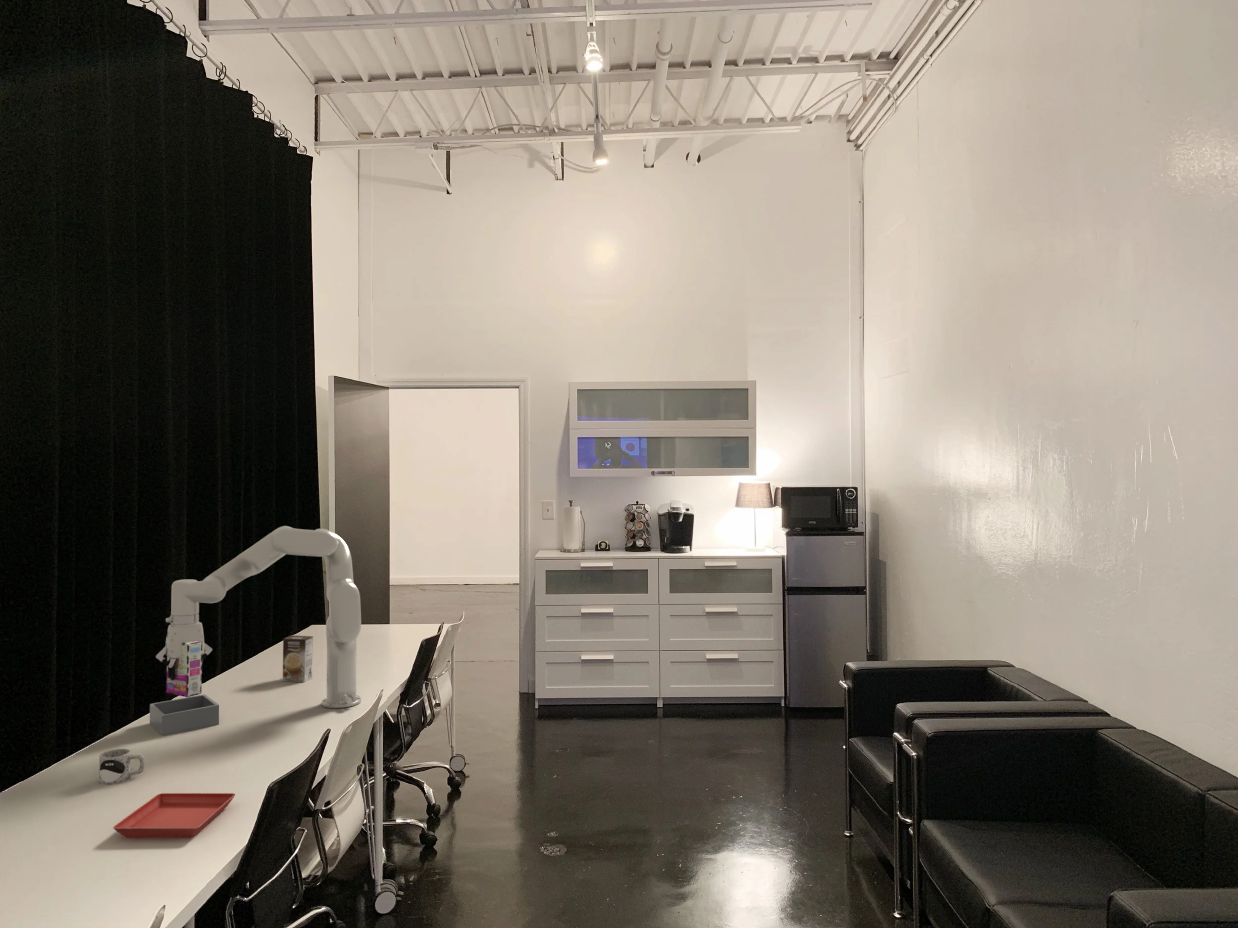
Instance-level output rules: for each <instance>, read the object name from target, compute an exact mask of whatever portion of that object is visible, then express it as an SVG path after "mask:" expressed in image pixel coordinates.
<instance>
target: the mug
mask: <svg viewBox="0 0 1238 928" xmlns="http://www.w3.org/2000/svg"><path fill="white" fill-rule="evenodd" d="M131 760H139V768H138V769H135V770H134V769H132V770H131ZM98 765H99V766H98V767H99V769H98V772H99V777H98V779H99V780H98V781H99V784H100V785H115V784H120V783H123V782H125V781H128V780H130V779H131V777H132V776H135V775H139V774H141V773H143V772H144V770H145V758H144V755H142V754H136V753H133V754H132V753H131V749H129V748H115V749H110V750H107V751H104V752H102V753H100V754H99V763H98Z"/></svg>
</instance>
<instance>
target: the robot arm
mask: <svg viewBox="0 0 1238 928" xmlns="http://www.w3.org/2000/svg"><path fill="white" fill-rule="evenodd" d="M286 555H290V556H291V555H292V556H306V557H320V558H321V557H323V559H324V563H325V573H326V598H327V599H326V600H327V601H328V602H329V608H330V609H329V610H330V611H329V612H330V613H329V614H330V615H329V616H328V617H327V620H326V624H325V633H326V635H325V637H326V697H325V698H324V699H322V701H321V706H323V707H324V708H328V709H343V708H344V709H345V708H349V707H353V706H357V705H358V704H360V703H361V701H362V696H360V695H357V661H358V660H357V656H358V654H357V650H358V649H357V646H358V645H357V638H358V637H359V635H360V634H361V629H362V612H361V611H362V610H361V607H362V605H361V593H360V591H359V588H358V587H357V585H356V584H355V583H354V581H355V580H354V571H353V560H352V559H353V558H352V554H351V551H350V547H349V546H348V545H347V543H346V542H345V541H344V539H343V538H342V537H341V536H339V535H338V534H337V533H335V532H333V531H332V530H329V529H327V528H316V529H315V530H314V529H302V528H294V527H291V526H288V525H283V526H279V527H277V528H276V529H274V530H273V531H272V532H270V533H268V534H267V535H266V536H264V537H263V538H261V539H260V540H259V541H257V542H256V543H254V544H253V545H252V546H250V547H249V548H247V549H246V550H244V551H242V552H241V553H239V554H238V555H237V556H236V557H234V558H232V559H231V560H230V561H228V562H227V563H225V564H224V565H222V566H220V568H219V567H218V569H216V570H215V571H213V572H212V573H210V574H209V575H208V576H206V577H205V578H203V580H200V581H198V580H197V579H179V580H178V579H177V580H175V581H173V582H172V584H171V599H170V600H171V603H170V604H171V605H170V607H171V611H170V616H169V617H166V618H165V622H166V623H170V624H169V625H168V627H167V633H166V638H165V646H164V647H163V648H162V650H160V651H159V652H158V653H157V654H156V655H155V658H156V659H157V660H159V662H161V663H162V664H164V665H165V666H166V667H167V666H168V678H169V677H170V679H171V680H175V667H173V664H174V662H175V660H176V659H177V658H181V651H182V649H181V648H182V643H185V642H192V641H202V662H203V661H204V660H205V659H206V658H207V657H208V656H209V655H210V653H211V652H212V651H213V648H212V647H211V646H209V645H208V644H207V643H205V635H204V627H203V623H202V622H200V614H199V613H200V604H201V603H203V604H204V603H205V604H214V603H219V602H220V601H222V600H223V599H224V598H225V597H226V594H227V591H229V590H230V589H232V588H233V587H234V586H236V585H237V584H239V583H241V582H243V581H244V580H245V579H247V578H249V577H251V576H255V575H258V574H260V573H261V572H263V571H265V570H266V569H267V568H269V567H271V566H272V565H273V564H274V563H276V562H277V561H278V560H280V559H281V558H283V557H284V556H286ZM164 656H166V657H167V656H168V657H169V659H168V661H167V658H165V657H164Z"/></svg>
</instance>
